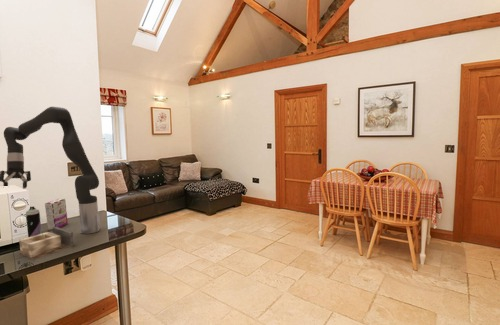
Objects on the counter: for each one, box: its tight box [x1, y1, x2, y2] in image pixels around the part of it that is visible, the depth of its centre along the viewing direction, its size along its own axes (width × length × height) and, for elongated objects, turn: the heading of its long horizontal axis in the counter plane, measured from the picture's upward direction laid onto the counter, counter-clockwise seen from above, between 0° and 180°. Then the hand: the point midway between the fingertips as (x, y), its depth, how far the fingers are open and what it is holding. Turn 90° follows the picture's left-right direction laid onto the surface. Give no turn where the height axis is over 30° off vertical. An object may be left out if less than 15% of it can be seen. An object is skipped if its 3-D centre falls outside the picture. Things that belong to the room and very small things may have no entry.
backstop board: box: [17, 227, 75, 260], centre depth 132 cm, size 17×17×8 cm
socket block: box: [18, 231, 61, 257], centre depth 130 cm, size 12×12×6 cm
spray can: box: [25, 206, 43, 238], centre depth 139 cm, size 6×6×20 cm
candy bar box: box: [44, 198, 69, 231], centre depth 167 cm, size 11×5×16 cm, turn 179°
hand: (15, 188), depth 158 cm, fingers open, 8 cm apart
